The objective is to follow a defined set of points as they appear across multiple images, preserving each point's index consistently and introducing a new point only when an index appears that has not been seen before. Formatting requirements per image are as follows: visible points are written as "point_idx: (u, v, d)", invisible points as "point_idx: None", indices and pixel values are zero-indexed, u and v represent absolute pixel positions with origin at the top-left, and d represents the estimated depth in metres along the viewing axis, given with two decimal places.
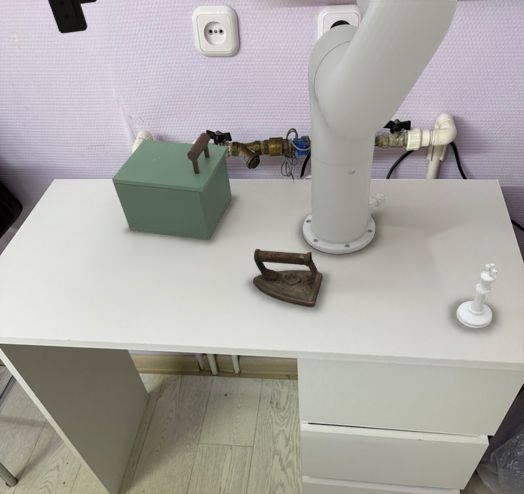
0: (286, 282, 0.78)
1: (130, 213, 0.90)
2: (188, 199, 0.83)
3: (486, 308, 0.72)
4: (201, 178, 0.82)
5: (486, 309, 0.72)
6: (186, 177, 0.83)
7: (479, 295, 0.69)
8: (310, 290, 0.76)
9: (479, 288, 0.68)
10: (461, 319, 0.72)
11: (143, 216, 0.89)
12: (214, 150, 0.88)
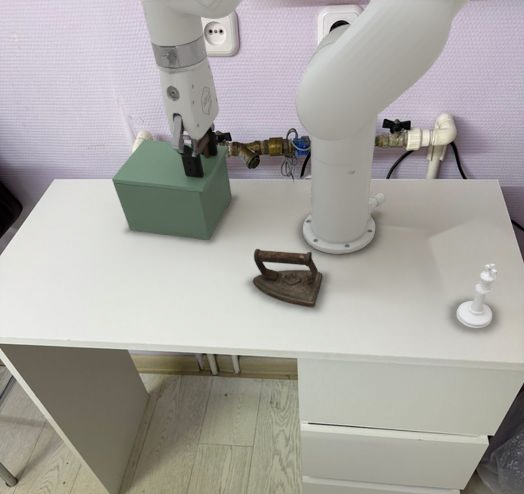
0: (286, 282, 0.78)
1: (130, 213, 0.90)
2: (188, 199, 0.83)
3: (486, 308, 0.72)
4: (201, 178, 0.82)
5: (486, 309, 0.72)
6: (186, 177, 0.83)
7: (479, 295, 0.69)
8: (310, 290, 0.76)
9: (479, 288, 0.68)
10: (461, 319, 0.72)
11: (143, 216, 0.89)
12: None
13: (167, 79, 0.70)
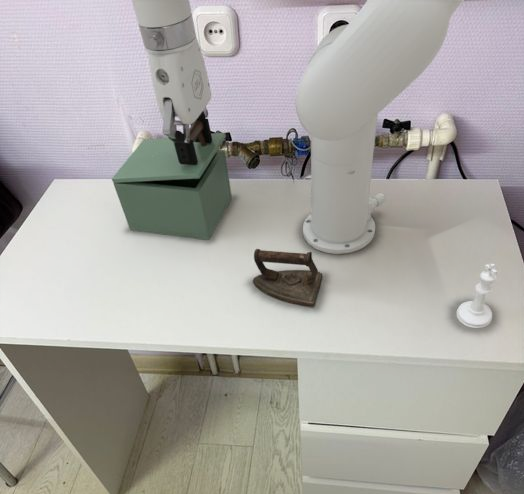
0: (286, 282, 0.78)
1: (130, 213, 0.90)
2: (188, 199, 0.83)
3: (486, 308, 0.72)
4: (197, 165, 0.80)
5: (486, 309, 0.72)
6: (182, 166, 0.81)
7: (479, 295, 0.69)
8: (310, 290, 0.76)
9: (479, 288, 0.68)
10: (461, 319, 0.72)
11: (143, 216, 0.89)
12: None
13: (156, 62, 0.69)
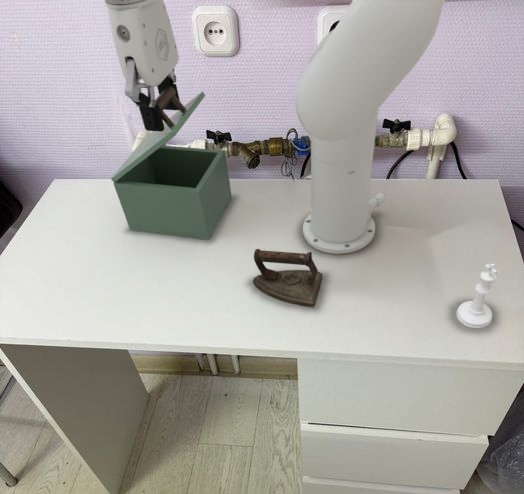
0: (286, 282, 0.78)
1: (130, 213, 0.90)
2: (188, 199, 0.83)
3: (486, 308, 0.72)
4: (173, 126, 0.76)
5: (486, 309, 0.72)
6: (162, 135, 0.78)
7: (479, 295, 0.69)
8: (310, 290, 0.76)
9: (479, 288, 0.68)
10: (461, 319, 0.72)
11: (143, 216, 0.89)
12: (191, 102, 0.82)
13: (116, 17, 0.65)
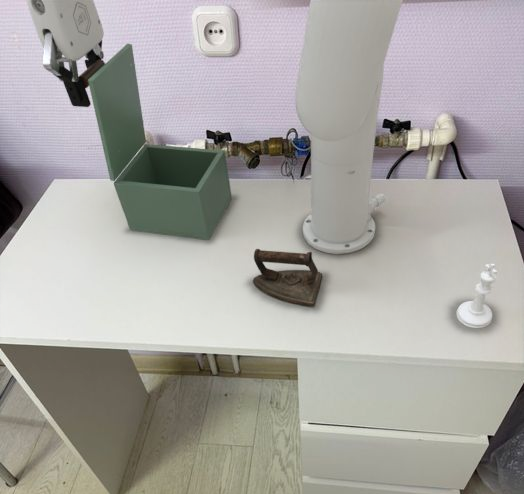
0: (286, 282, 0.78)
1: (130, 213, 0.90)
2: (188, 199, 0.83)
3: (486, 308, 0.72)
4: None
5: (486, 309, 0.72)
6: None
7: (479, 295, 0.69)
8: (310, 290, 0.76)
9: (479, 288, 0.68)
10: (461, 319, 0.72)
11: (143, 216, 0.89)
12: None
13: None
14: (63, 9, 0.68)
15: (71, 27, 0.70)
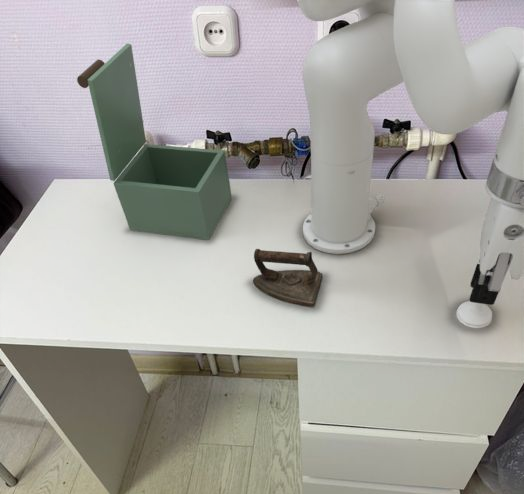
0: (286, 282, 0.78)
1: (130, 213, 0.90)
2: (188, 199, 0.83)
3: (486, 308, 0.72)
4: None
5: (486, 309, 0.72)
6: None
7: None
8: (310, 290, 0.76)
9: None
10: (461, 319, 0.72)
11: (143, 216, 0.89)
12: None
13: (513, 217, 0.54)
14: None
15: None
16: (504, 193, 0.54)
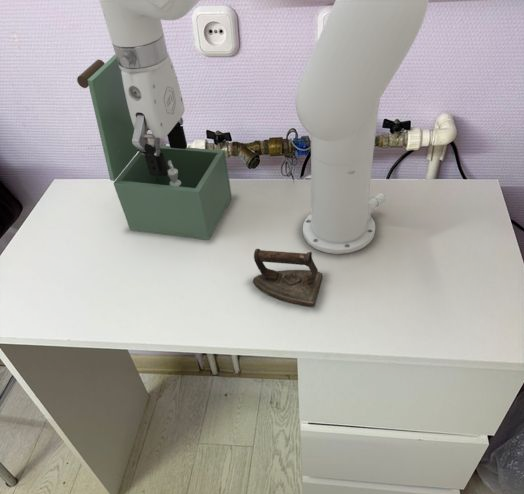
0: (286, 282, 0.78)
1: (130, 213, 0.90)
2: (188, 199, 0.83)
3: None
4: None
5: None
6: None
7: None
8: (310, 290, 0.76)
9: (171, 183, 0.89)
10: None
11: (143, 216, 0.89)
12: None
13: (128, 79, 0.72)
14: (156, 95, 0.74)
15: (162, 110, 0.76)
16: (119, 61, 0.71)
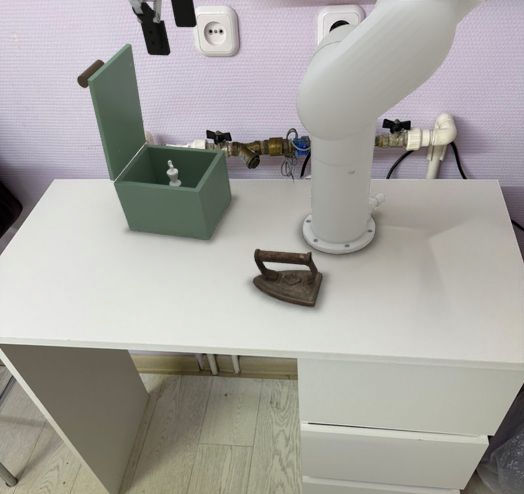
0: (286, 282, 0.78)
1: (130, 213, 0.90)
2: (188, 199, 0.83)
3: None
4: None
5: None
6: None
7: None
8: (310, 290, 0.76)
9: (171, 183, 0.89)
10: None
11: (143, 216, 0.89)
12: None
13: None
14: None
15: None
16: None
